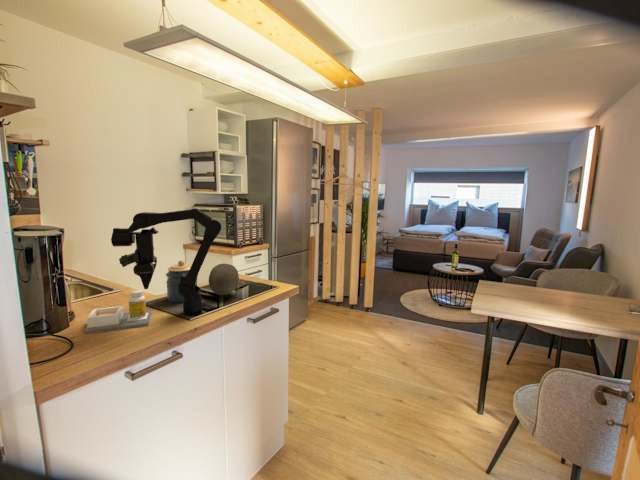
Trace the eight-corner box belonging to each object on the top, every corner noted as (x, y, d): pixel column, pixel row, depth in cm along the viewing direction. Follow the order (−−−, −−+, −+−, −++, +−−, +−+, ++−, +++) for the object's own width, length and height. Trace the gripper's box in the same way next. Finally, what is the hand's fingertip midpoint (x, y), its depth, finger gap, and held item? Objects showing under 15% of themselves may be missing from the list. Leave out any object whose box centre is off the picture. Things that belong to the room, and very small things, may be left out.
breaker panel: (151, 312, 129) (150, 301, 128) (148, 325, 116) (147, 313, 116) (95, 318, 122) (94, 307, 121) (84, 333, 109) (83, 320, 108)
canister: (190, 292, 156) (188, 256, 153) (203, 298, 147) (201, 260, 144) (162, 298, 147) (160, 260, 144) (174, 305, 138) (172, 264, 135)
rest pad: (148, 313, 125) (148, 312, 125) (146, 319, 119) (146, 318, 119) (129, 315, 123) (129, 314, 123) (126, 321, 117) (126, 321, 117)
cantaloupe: (202, 295, 150) (201, 264, 148) (227, 289, 162) (226, 259, 159) (220, 302, 142) (219, 269, 140) (246, 294, 153) (245, 263, 151)
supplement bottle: (129, 320, 118) (127, 294, 116) (130, 315, 122) (128, 290, 121) (146, 317, 120) (144, 292, 119) (146, 313, 125) (144, 288, 123)
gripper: (124, 243, 127) (127, 281, 129) (115, 251, 110) (118, 295, 112) (156, 241, 131) (158, 279, 134) (151, 249, 114) (154, 291, 117)
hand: (147, 285), depth 124 cm, fingers open, 9 cm apart
